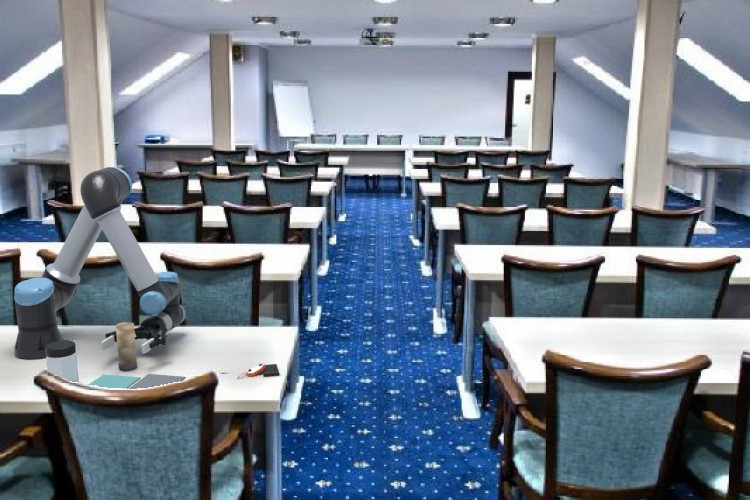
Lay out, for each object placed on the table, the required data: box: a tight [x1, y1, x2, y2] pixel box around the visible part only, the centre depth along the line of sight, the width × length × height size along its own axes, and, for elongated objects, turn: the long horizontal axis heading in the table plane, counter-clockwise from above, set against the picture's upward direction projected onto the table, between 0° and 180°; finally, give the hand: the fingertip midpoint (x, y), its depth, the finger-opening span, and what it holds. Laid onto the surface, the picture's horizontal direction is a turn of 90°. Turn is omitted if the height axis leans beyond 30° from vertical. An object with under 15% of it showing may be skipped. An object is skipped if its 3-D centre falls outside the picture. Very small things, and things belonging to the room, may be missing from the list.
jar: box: [45, 339, 79, 383], centre depth 221 cm, size 9×8×12 cm
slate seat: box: [128, 373, 186, 389], centre depth 222 cm, size 12×12×1 cm
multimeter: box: [221, 362, 280, 380], centre depth 228 cm, size 18×12×3 cm, turn 99°
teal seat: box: [87, 373, 141, 389], centre depth 222 cm, size 12×12×1 cm
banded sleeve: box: [115, 321, 138, 372], centre depth 233 cm, size 5×5×14 cm
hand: (122, 348), depth 230 cm, fingers open, 13 cm apart
